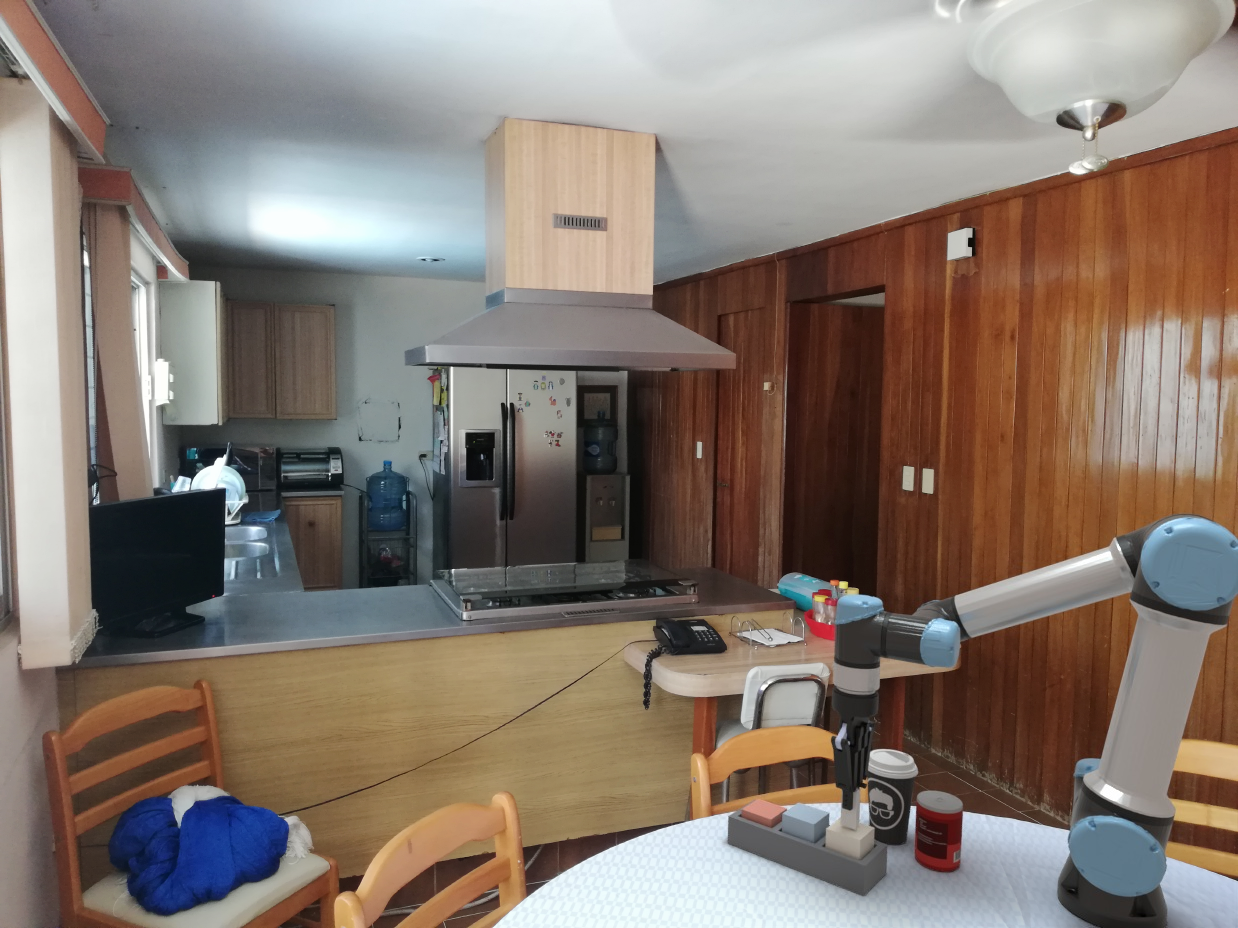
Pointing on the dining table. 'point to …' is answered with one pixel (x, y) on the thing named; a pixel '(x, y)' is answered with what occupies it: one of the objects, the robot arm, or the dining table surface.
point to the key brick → (763, 813)
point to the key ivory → (850, 839)
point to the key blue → (805, 822)
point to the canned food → (938, 830)
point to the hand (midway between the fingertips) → (849, 825)
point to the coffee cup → (890, 794)
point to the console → (809, 855)
